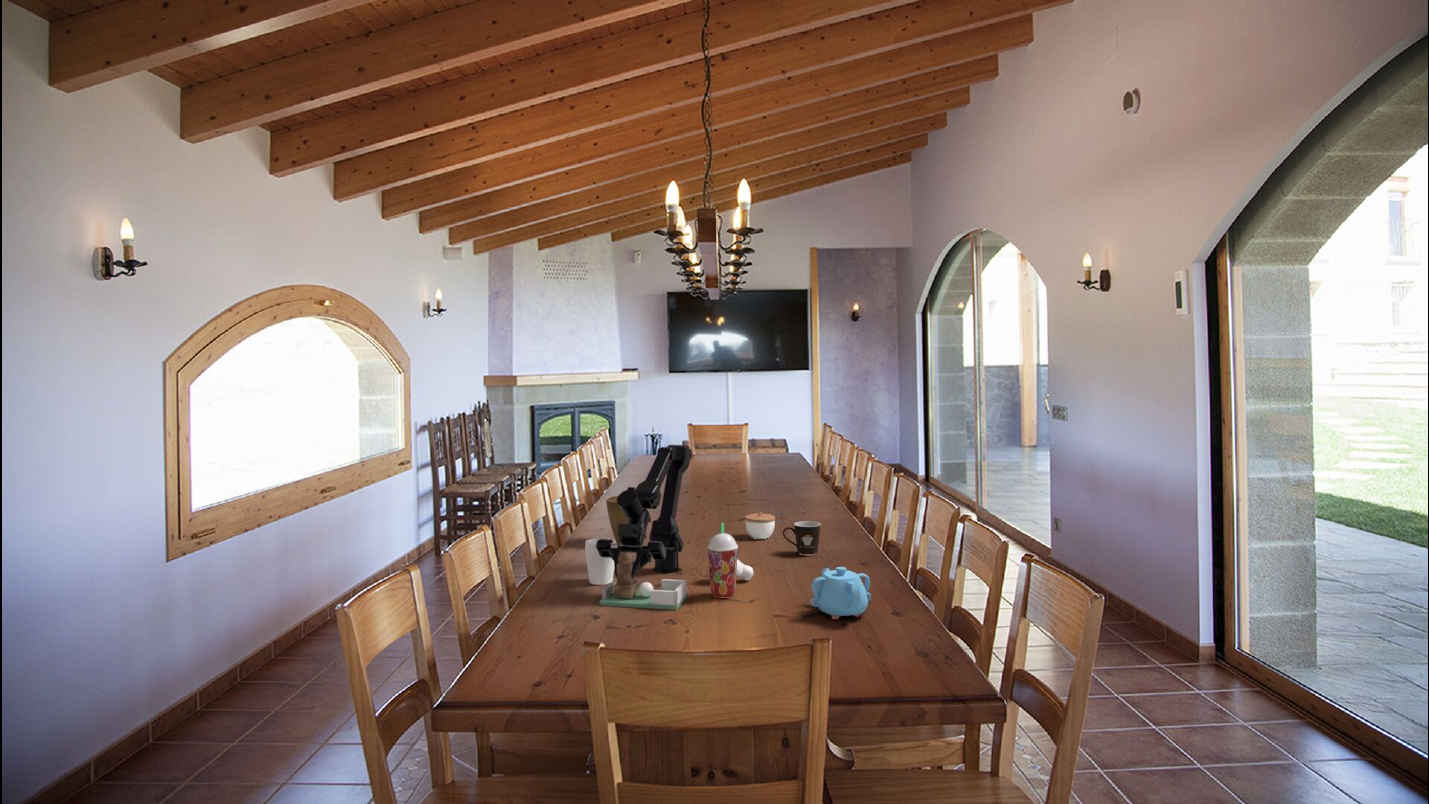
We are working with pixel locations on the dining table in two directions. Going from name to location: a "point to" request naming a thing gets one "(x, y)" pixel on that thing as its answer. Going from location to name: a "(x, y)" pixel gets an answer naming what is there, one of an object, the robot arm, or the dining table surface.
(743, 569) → the penguin figurine
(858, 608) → the teapot
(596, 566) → the cup
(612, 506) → the plant pot
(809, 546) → the coffee mug
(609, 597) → the pitch
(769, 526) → the lidded jar
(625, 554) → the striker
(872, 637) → the dining table surface
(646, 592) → the ball
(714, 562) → the smoothie
